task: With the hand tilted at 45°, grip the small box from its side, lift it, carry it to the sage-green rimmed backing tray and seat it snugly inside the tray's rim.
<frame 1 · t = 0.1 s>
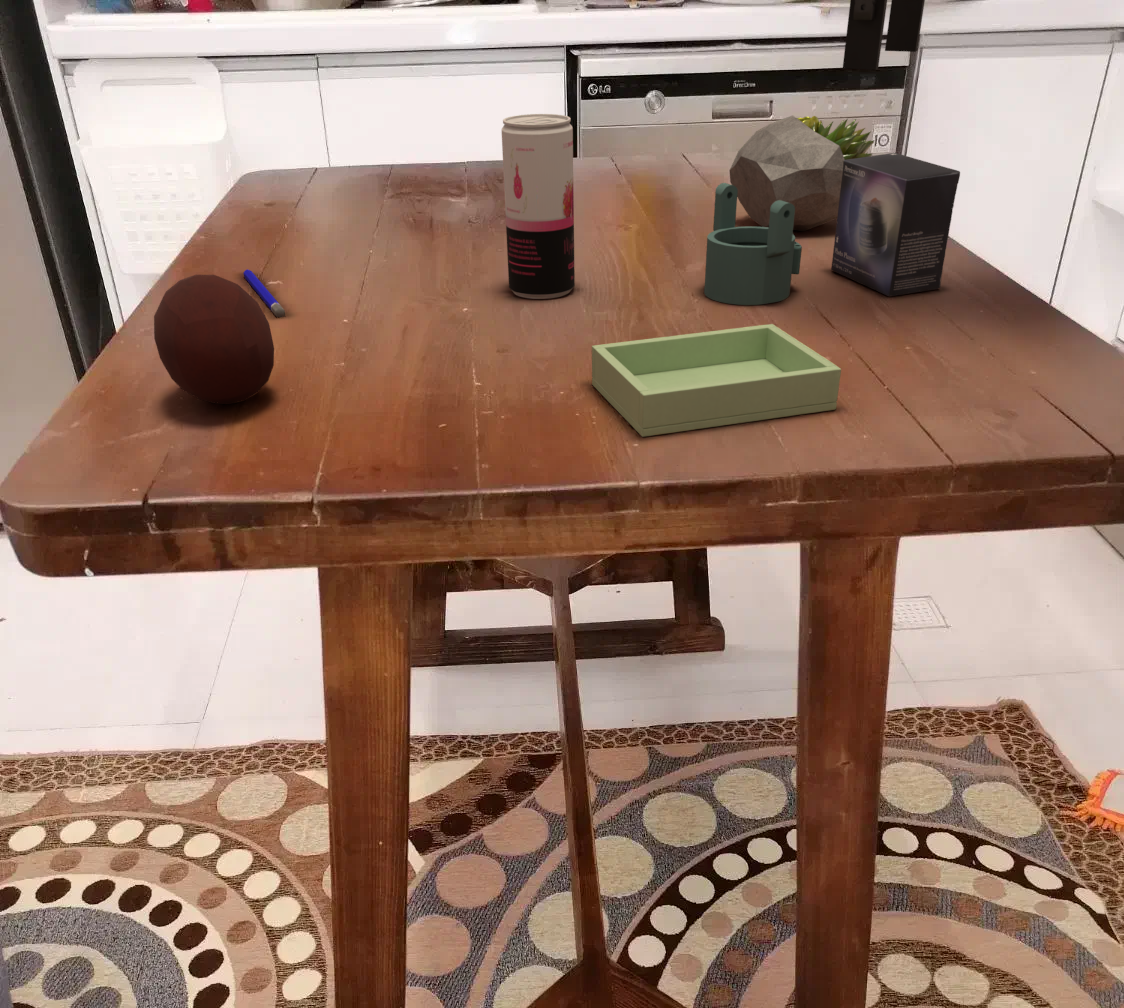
hand: (881, 60, 93), 19 cm above the table, tool pointing down, fingers open, 13 cm apart
bracket: (750, 294, 108), on the table
potted plant: (799, 227, 129), on the table
beverage can: (542, 292, 110), on the table
pencil: (264, 299, 111), on the table
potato: (227, 400, 87), on the table
backing tray: (710, 396, 85), on the table
small box: (882, 282, 110), on the table
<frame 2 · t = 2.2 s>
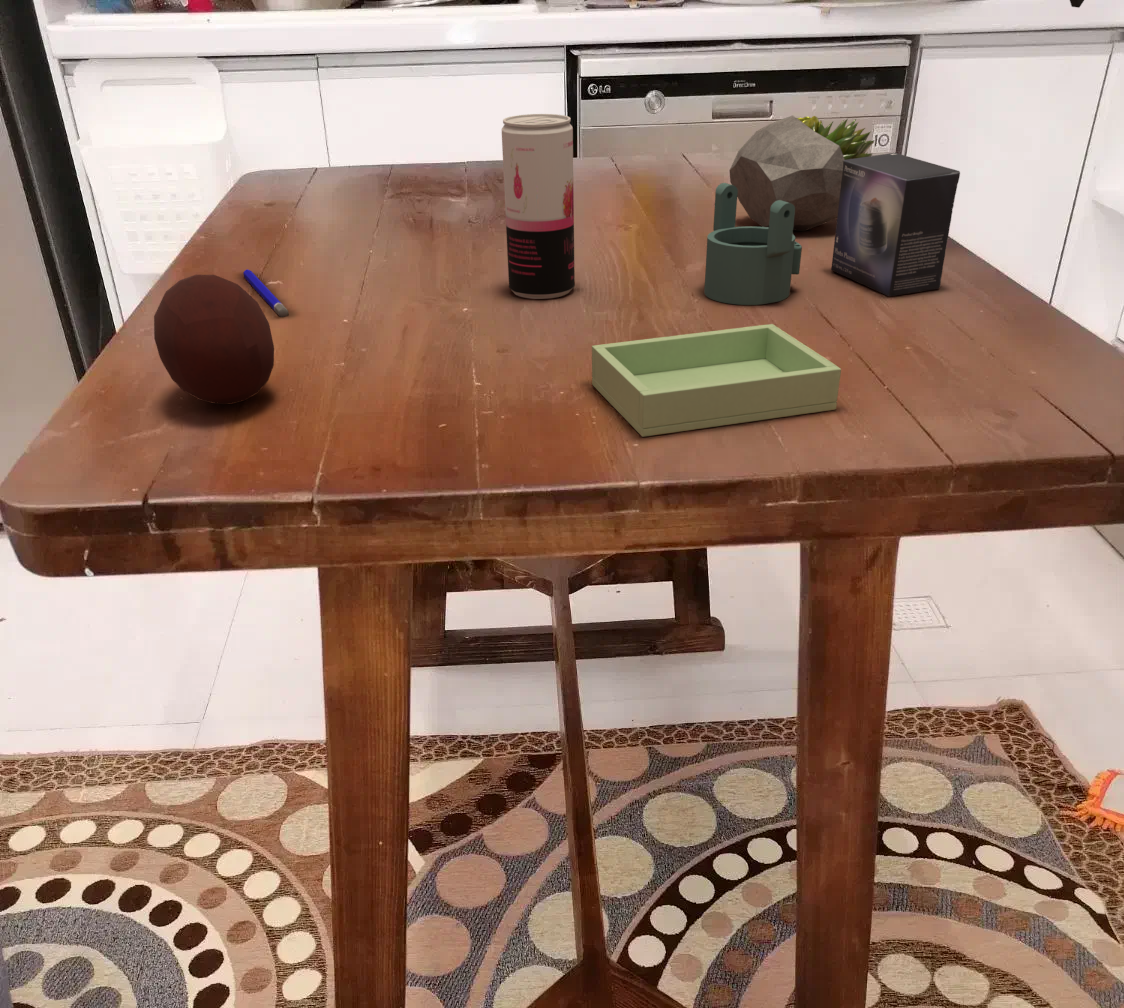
nothing on the table moved.
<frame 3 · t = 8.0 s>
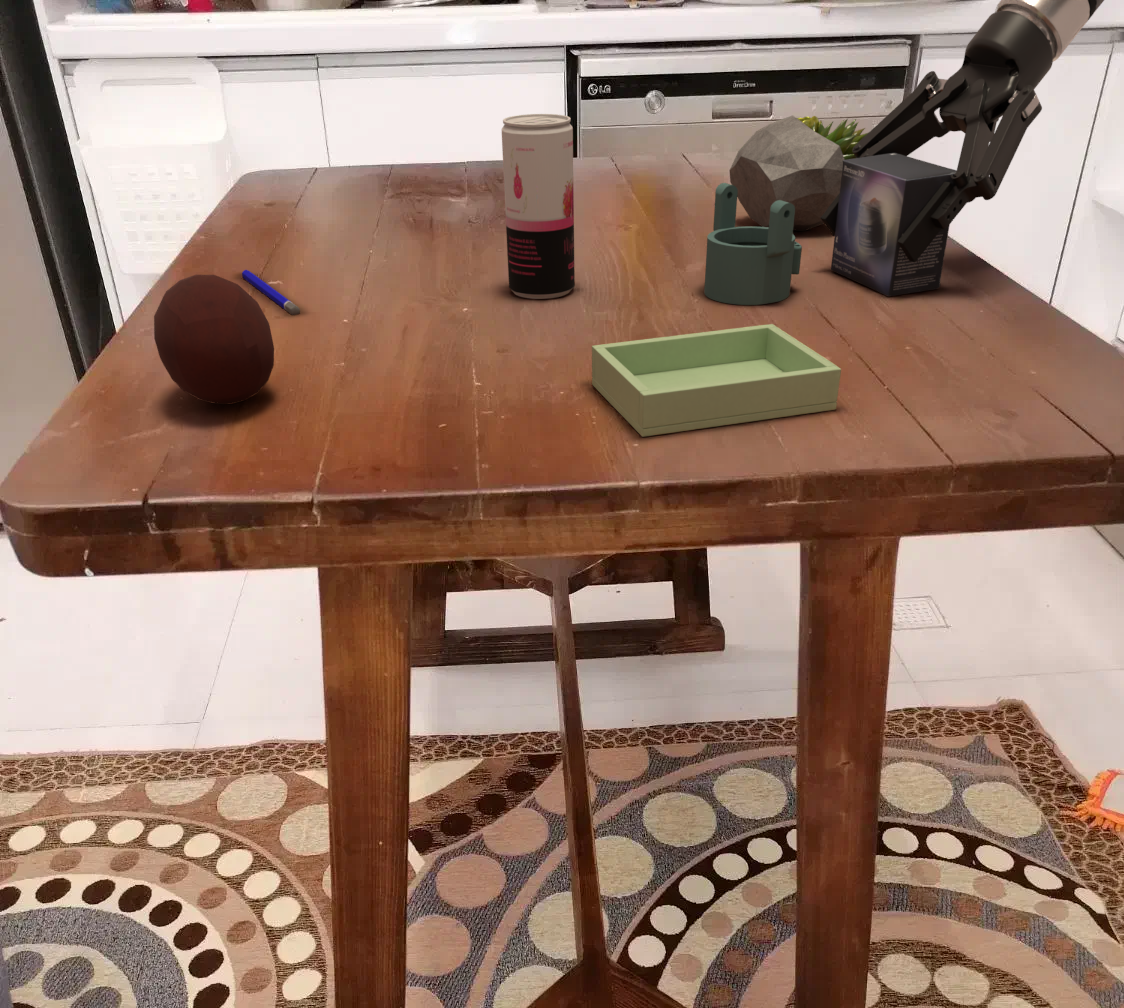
hand: (866, 239, 106), 4 cm above the table, tool tilted 45°, fingers closed on small box, 11 cm apart
small box: (881, 282, 110), on the table, touching gripper
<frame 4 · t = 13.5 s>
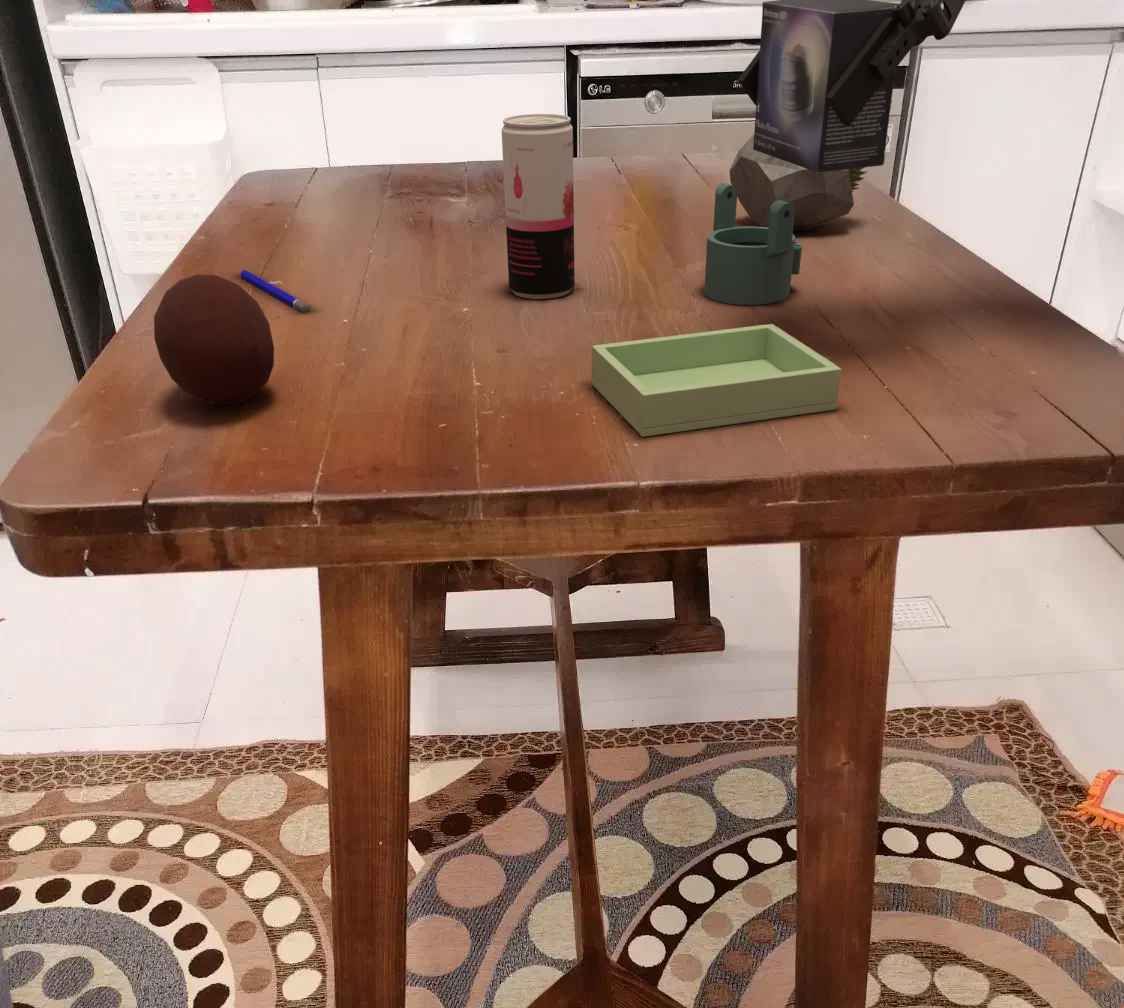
hand: (790, 102, 84), 18 cm above the table, tool tilted 45°, fingers closed on small box, 11 cm apart
small box: (814, 161, 88), point 14 cm above the table, touching gripper
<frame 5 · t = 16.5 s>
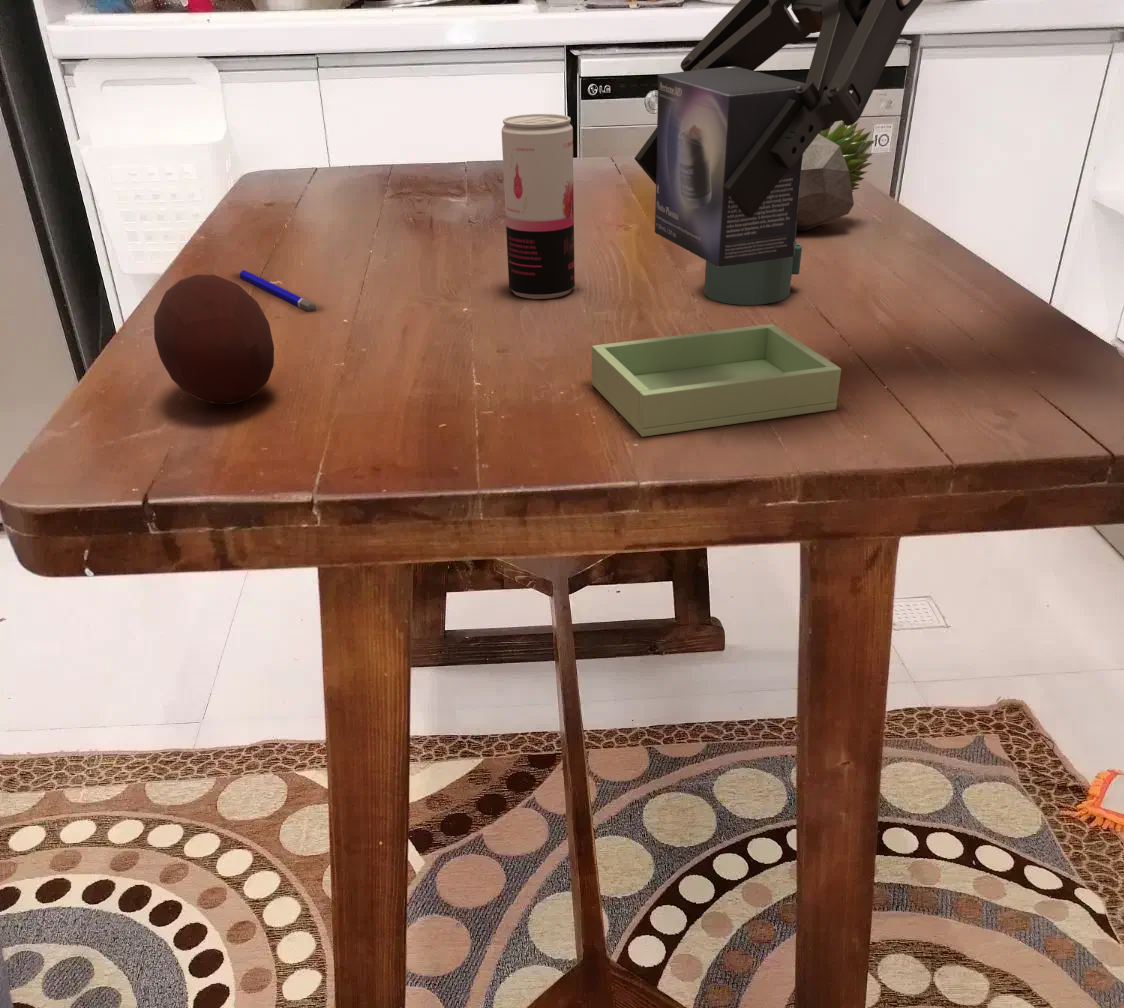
hand: (689, 187, 75), 15 cm above the table, tool tilted 45°, fingers closed on small box, 11 cm apart
small box: (719, 249, 79), point 11 cm above the table, touching gripper
when the fingers open (7 cm above the table, at t = 19.2 s): small box stays where it is, resting on backing tray.
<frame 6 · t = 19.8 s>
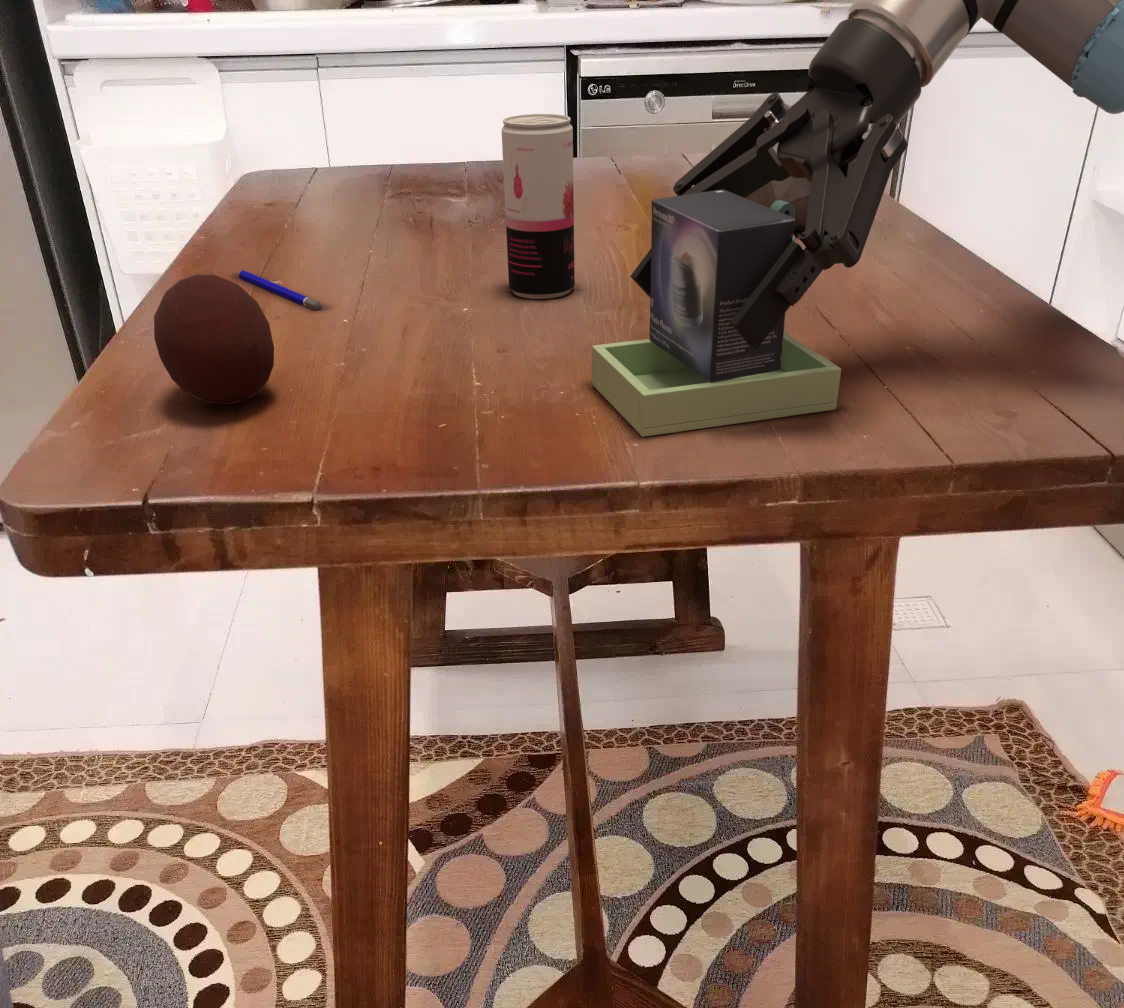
hand: (689, 311, 80), 7 cm above the table, tool tilted 45°, fingers open, 13 cm apart
small box: (710, 358, 84), point 3 cm above the table, touching backing tray
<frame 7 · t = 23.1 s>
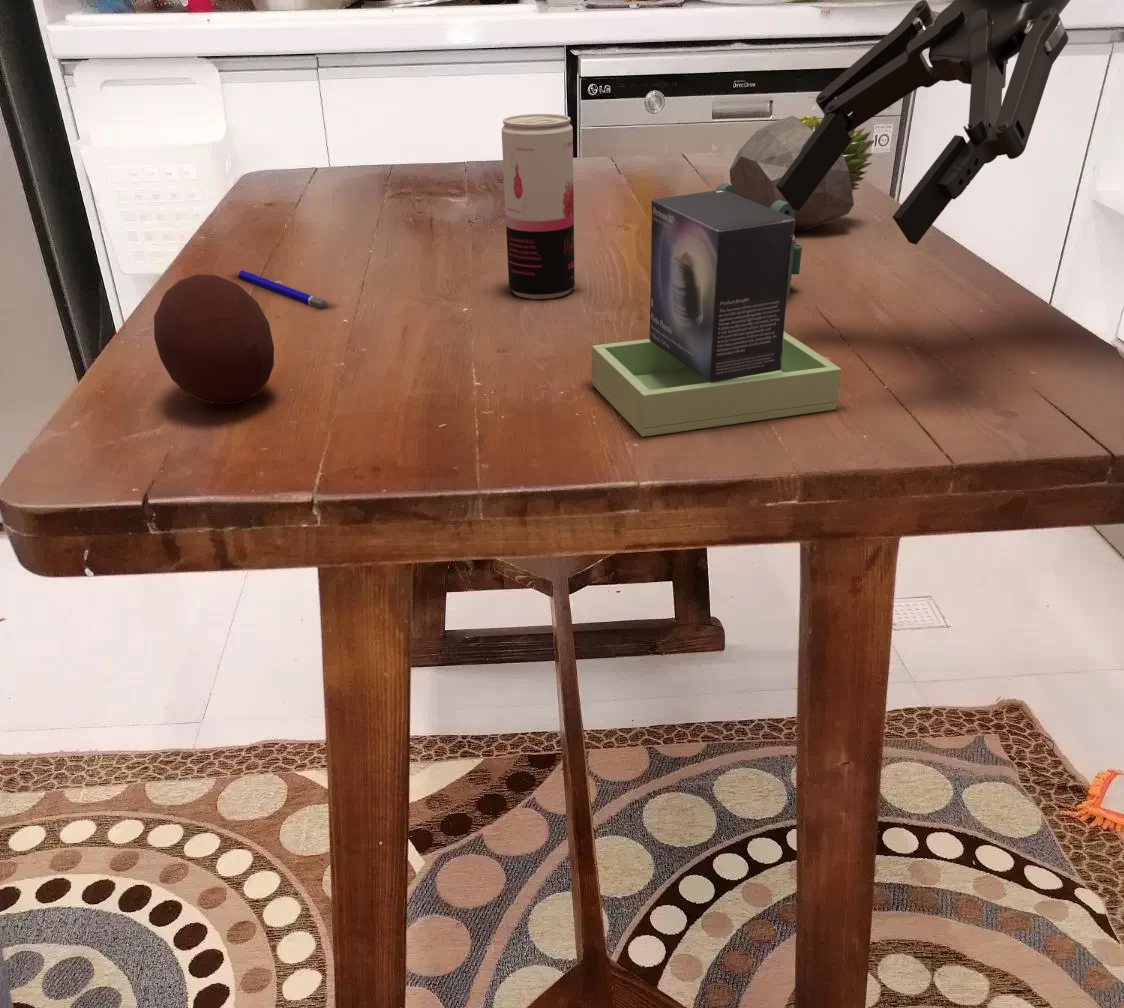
hand: (841, 214, 82), 12 cm above the table, tool tilted 45°, fingers open, 13 cm apart
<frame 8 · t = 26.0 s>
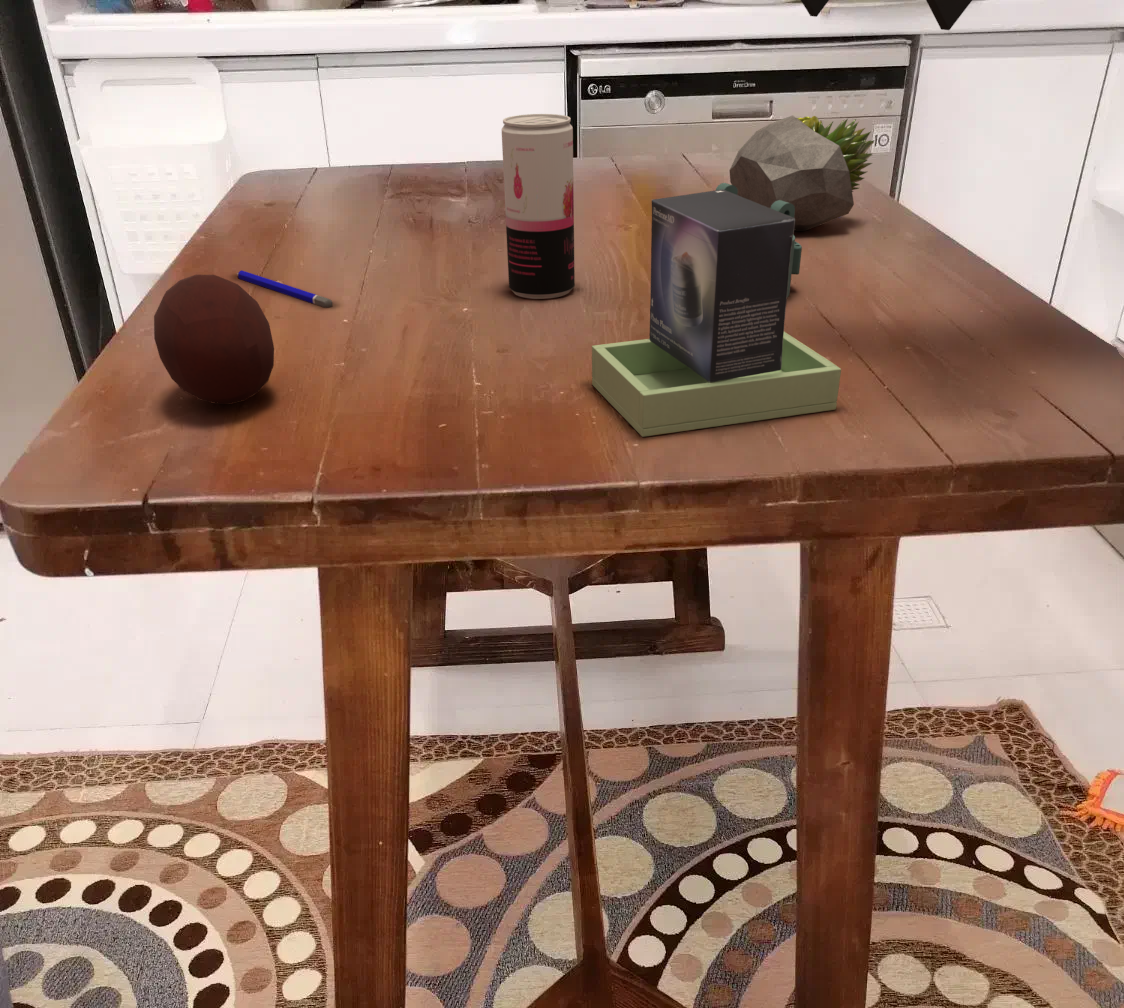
hand: (865, 7, 74), 25 cm above the table, tool tilted 45°, fingers open, 13 cm apart
at the end: small box 0.1 cm off-centre in the backing tray, point 2.9 cm above the backing tray's base; small box tilted 0°; the gripper is holding nothing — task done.
